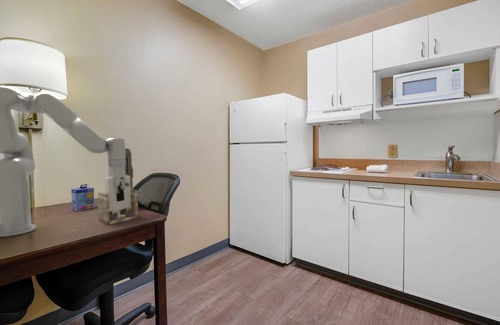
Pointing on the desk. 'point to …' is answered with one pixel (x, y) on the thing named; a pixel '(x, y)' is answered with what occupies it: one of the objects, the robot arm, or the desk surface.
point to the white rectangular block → (113, 196)
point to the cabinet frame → (124, 214)
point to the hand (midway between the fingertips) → (118, 199)
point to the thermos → (129, 166)
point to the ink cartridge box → (82, 198)
